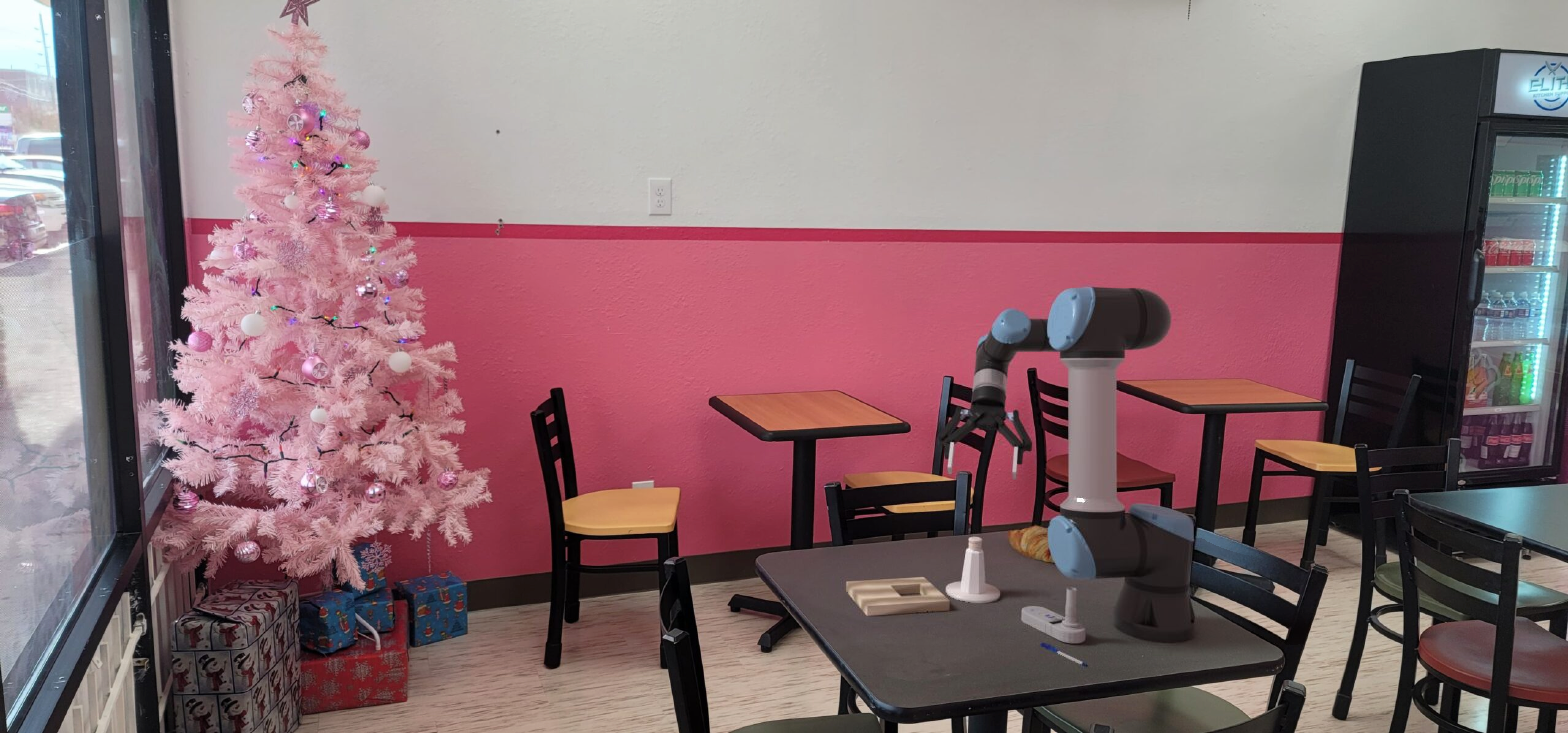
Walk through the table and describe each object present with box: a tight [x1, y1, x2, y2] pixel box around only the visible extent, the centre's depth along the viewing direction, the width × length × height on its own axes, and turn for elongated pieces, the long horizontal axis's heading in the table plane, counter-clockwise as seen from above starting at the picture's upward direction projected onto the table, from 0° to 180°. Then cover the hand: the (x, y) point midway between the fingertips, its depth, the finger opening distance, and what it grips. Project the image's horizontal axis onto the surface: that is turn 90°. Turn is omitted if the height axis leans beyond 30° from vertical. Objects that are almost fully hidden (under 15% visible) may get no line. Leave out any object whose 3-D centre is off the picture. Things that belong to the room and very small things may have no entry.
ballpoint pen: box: [1040, 642, 1088, 667], centre depth 181 cm, size 10×1×1 cm, turn 34°
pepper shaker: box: [961, 536, 986, 594], centre depth 211 cm, size 5×5×11 cm
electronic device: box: [1020, 586, 1087, 645], centre depth 193 cm, size 5×10×15 cm
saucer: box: [945, 580, 1001, 604], centre depth 211 cm, size 11×11×1 cm
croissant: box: [1006, 524, 1055, 564], centre depth 238 cm, size 21×10×8 cm, turn 29°
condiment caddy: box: [845, 576, 951, 617], centre depth 206 cm, size 14×17×2 cm
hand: (981, 473), depth 219 cm, fingers open, 13 cm apart
